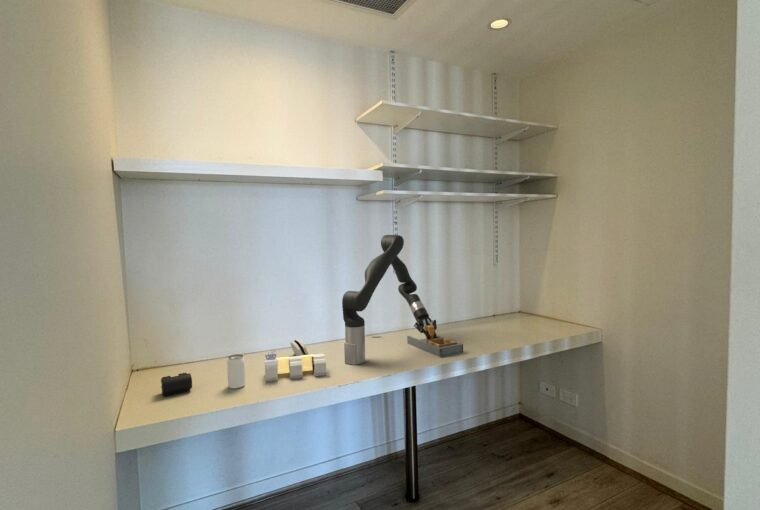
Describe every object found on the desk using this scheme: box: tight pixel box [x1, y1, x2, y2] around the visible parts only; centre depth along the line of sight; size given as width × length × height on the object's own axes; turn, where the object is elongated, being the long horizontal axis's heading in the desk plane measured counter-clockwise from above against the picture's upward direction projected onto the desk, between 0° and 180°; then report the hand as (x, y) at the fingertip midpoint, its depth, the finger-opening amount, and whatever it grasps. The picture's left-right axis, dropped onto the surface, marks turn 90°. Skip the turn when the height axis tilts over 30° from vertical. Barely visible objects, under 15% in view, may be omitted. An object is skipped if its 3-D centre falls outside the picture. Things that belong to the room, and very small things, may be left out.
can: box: [226, 354, 246, 390], centre depth 156 cm, size 6×6×12 cm
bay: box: [406, 335, 464, 358], centre depth 204 cm, size 30×14×4 cm, turn 28°
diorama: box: [264, 349, 327, 383], centre depth 168 cm, size 25×10×13 cm, turn 105°
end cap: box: [160, 372, 193, 397], centre depth 151 cm, size 10×7×7 cm
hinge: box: [289, 339, 310, 356], centre depth 192 cm, size 17×5×10 cm, turn 28°
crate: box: [425, 325, 458, 348], centre depth 201 cm, size 17×10×10 cm, turn 28°
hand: (432, 337), depth 205 cm, fingers closed on crate, 3 cm apart
